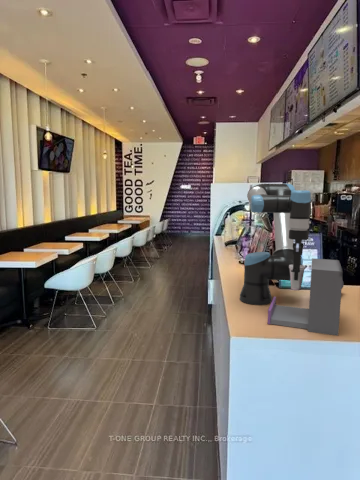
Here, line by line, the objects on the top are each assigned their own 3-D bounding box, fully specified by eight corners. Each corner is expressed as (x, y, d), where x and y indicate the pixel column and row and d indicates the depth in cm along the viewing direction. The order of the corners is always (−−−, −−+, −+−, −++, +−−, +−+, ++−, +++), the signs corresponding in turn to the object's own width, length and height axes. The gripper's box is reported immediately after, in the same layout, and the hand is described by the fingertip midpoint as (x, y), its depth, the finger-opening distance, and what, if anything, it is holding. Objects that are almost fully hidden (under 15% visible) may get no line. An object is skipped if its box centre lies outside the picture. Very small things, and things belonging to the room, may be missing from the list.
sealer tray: (267, 323, 138) (268, 310, 137) (273, 308, 156) (273, 296, 156) (309, 329, 132) (310, 315, 132) (310, 313, 151) (310, 300, 150)
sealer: (307, 331, 131) (311, 269, 128) (308, 312, 152) (312, 258, 149) (338, 335, 127) (342, 271, 124) (334, 315, 149) (338, 260, 146)
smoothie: (285, 287, 145) (286, 253, 143) (300, 286, 145) (301, 253, 143) (291, 291, 139) (293, 256, 137) (307, 291, 139) (308, 256, 137)
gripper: (308, 232, 129) (305, 292, 132) (309, 227, 146) (306, 281, 149) (287, 231, 131) (284, 290, 134) (290, 226, 149) (288, 279, 152)
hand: (296, 285), depth 142 cm, fingers closed on smoothie, 6 cm apart
